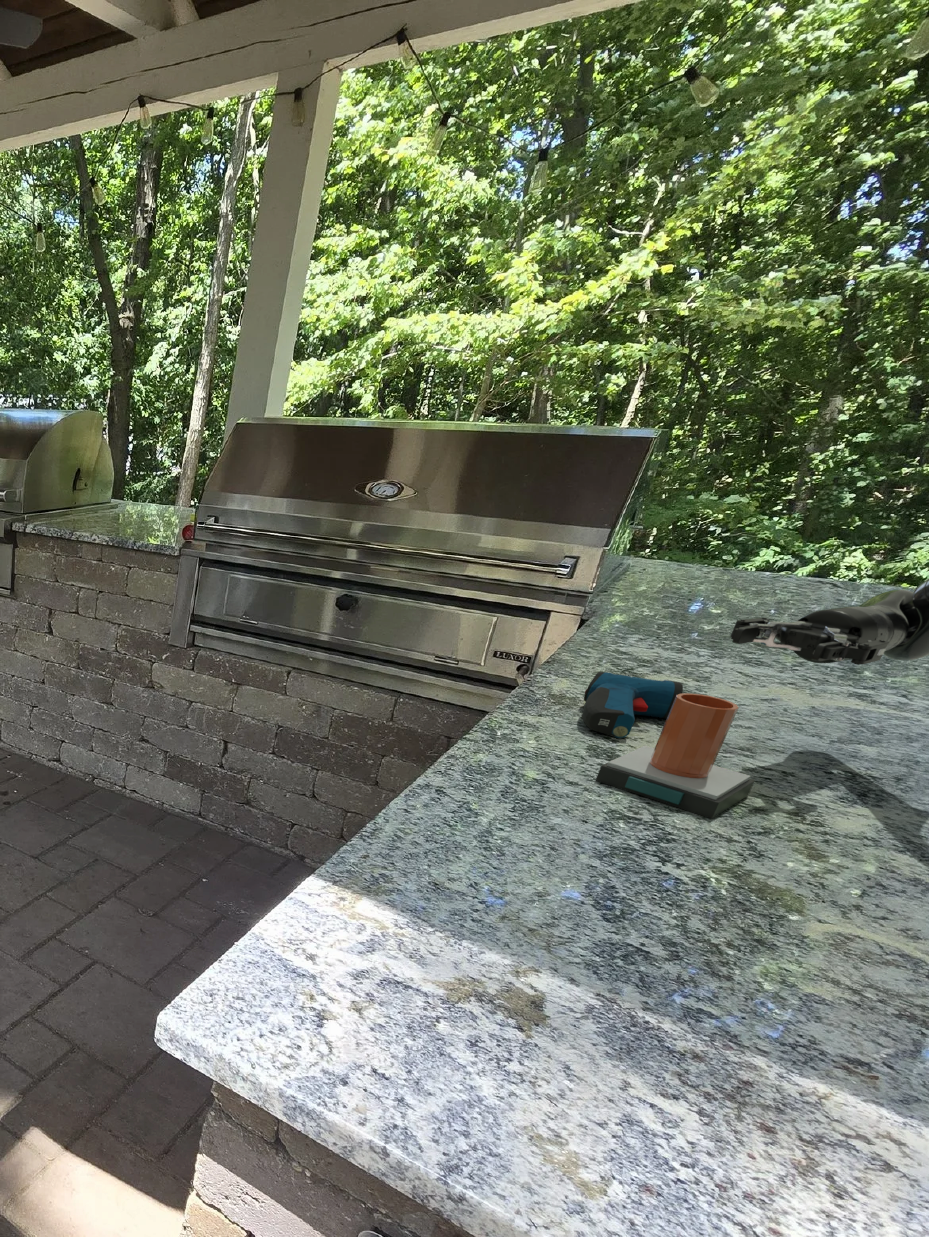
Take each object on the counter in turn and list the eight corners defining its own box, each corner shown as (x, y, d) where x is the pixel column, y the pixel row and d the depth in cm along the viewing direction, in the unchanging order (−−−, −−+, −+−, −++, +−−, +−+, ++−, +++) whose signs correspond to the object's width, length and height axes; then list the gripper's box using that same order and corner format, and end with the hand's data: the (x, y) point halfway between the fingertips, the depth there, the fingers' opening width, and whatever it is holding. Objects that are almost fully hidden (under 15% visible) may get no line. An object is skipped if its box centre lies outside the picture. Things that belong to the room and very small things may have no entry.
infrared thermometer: (697, 719, 122) (681, 677, 136) (590, 701, 128) (586, 663, 143) (681, 756, 125) (667, 711, 139) (577, 736, 131) (574, 696, 146)
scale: (747, 795, 110) (757, 776, 109) (710, 819, 103) (719, 799, 102) (634, 761, 120) (641, 743, 119) (593, 781, 114) (601, 762, 112)
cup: (715, 772, 110) (745, 704, 106) (697, 782, 107) (728, 712, 103) (660, 756, 115) (687, 690, 111) (641, 765, 112) (668, 698, 108)
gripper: (788, 597, 118) (723, 604, 112) (925, 620, 106) (861, 630, 100) (766, 646, 121) (702, 656, 115) (898, 674, 109) (833, 687, 103)
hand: (776, 644), depth 108 cm, fingers open, 8 cm apart
